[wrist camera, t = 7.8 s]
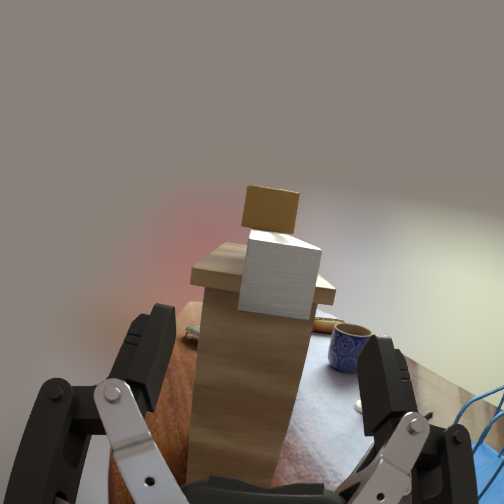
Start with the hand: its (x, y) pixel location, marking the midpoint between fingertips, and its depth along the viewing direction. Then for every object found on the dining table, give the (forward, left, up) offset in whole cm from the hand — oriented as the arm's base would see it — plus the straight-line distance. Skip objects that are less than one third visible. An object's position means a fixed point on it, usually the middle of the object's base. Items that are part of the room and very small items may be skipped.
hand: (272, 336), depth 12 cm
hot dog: (+13, +97, -31) cm, 103 cm away
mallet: (-2, +12, +1) cm, 12 cm away
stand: (-4, +21, -30) cm, 37 cm away
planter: (+17, +68, -31) cm, 77 cm away
